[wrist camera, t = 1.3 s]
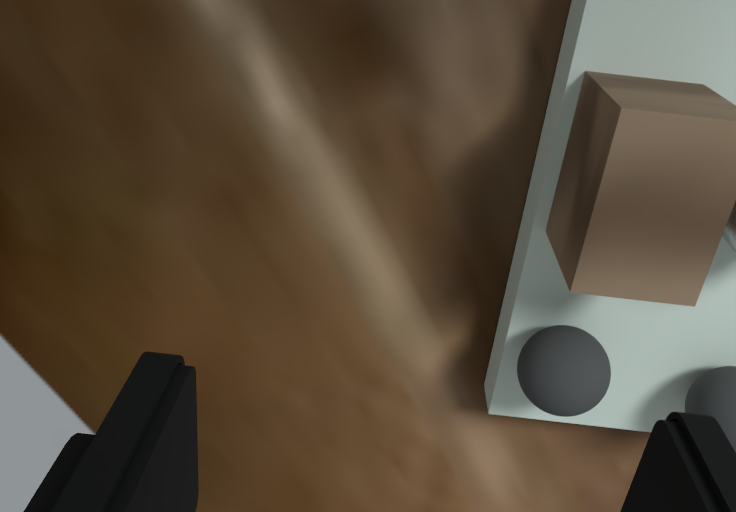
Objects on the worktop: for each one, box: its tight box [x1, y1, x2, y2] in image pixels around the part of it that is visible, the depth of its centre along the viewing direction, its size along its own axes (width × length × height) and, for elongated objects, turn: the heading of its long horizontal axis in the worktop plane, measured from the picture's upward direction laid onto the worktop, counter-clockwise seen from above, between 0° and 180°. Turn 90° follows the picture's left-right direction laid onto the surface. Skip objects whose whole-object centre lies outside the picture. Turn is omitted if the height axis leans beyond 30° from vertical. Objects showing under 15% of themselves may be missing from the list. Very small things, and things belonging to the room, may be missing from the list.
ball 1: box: [517, 325, 611, 417], centre depth 27 cm, size 4×4×4 cm
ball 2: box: [685, 366, 736, 452], centre depth 27 cm, size 4×4×4 cm
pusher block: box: [546, 71, 736, 307], centre depth 23 cm, size 6×4×4 cm, turn 174°
